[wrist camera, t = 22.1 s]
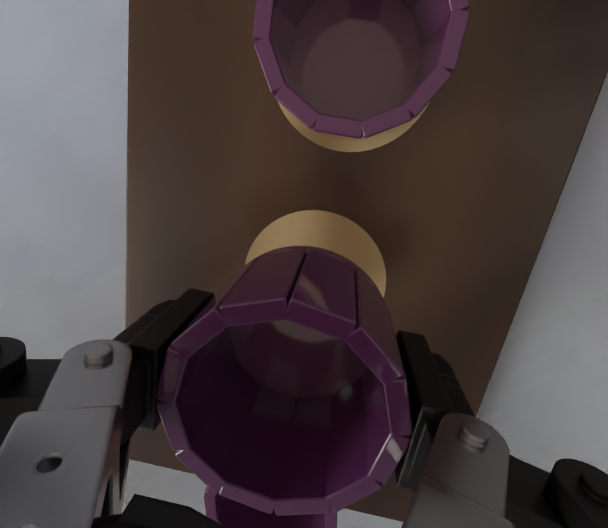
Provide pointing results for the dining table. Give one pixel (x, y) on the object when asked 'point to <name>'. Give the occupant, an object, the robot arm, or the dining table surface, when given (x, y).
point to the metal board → (357, 176)
